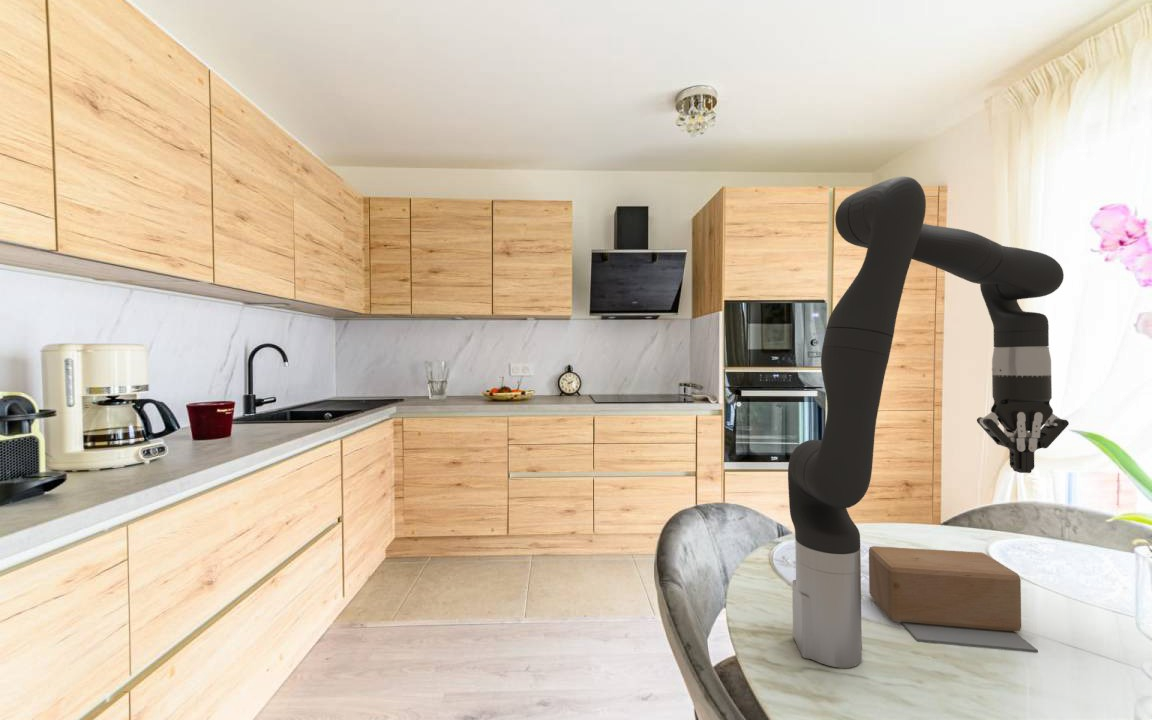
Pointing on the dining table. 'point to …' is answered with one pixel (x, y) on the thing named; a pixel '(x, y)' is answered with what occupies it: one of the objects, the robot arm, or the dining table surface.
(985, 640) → the mat
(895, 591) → the wooden block
